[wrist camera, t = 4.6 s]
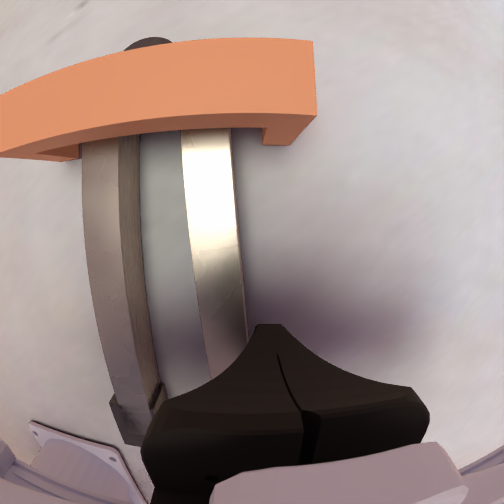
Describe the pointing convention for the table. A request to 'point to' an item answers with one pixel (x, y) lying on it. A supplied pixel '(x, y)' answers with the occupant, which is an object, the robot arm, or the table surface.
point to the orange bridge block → (163, 95)
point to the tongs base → (120, 276)
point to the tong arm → (215, 243)
